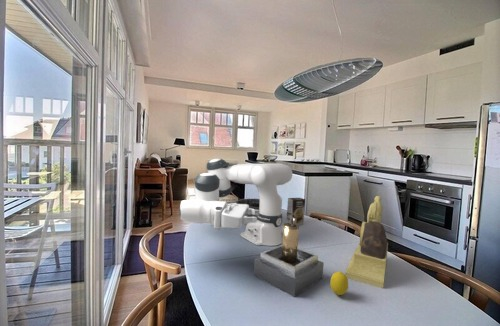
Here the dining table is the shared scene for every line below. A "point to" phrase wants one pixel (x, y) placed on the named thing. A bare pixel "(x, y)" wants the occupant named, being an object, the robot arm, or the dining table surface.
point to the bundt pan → (250, 204)
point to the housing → (288, 270)
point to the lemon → (339, 283)
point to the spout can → (290, 242)
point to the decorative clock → (370, 250)
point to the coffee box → (295, 210)
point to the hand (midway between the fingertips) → (258, 216)
